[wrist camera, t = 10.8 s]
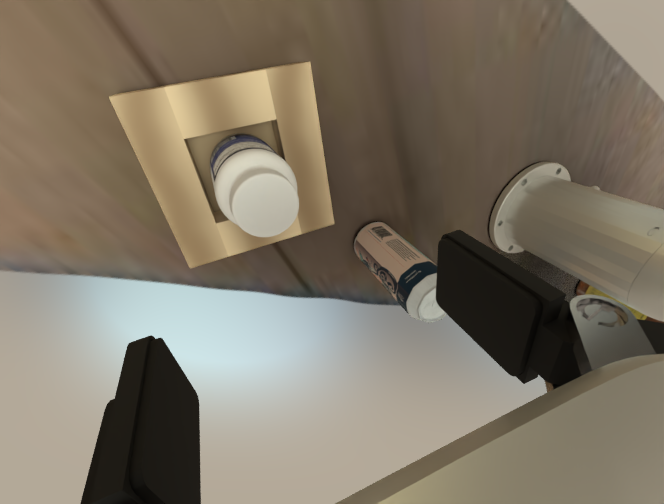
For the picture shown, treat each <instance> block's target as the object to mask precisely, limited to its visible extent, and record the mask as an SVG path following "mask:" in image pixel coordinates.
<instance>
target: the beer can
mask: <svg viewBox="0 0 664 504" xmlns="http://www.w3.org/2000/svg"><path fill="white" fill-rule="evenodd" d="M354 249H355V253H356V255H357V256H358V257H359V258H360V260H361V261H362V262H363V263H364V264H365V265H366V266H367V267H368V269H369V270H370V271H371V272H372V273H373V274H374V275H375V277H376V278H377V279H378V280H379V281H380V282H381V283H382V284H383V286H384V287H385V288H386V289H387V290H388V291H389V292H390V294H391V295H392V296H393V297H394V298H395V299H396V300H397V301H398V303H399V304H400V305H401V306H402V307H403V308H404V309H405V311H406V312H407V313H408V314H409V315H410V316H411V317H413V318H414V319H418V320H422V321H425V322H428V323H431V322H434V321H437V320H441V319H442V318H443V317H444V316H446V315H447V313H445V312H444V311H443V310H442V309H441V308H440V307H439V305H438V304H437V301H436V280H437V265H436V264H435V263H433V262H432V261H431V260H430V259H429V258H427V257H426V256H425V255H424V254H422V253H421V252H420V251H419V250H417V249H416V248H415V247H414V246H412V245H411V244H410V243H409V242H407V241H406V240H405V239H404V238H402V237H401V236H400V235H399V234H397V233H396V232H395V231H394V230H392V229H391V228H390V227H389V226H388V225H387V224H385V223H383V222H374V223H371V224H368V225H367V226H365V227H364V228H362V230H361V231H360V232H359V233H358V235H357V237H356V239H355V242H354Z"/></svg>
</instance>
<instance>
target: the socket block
mask: <svg viewBox="0 0 664 504" xmlns="http://www.w3.org/2000/svg"><path fill="white" fill-rule="evenodd" d="M109 99H110V101H111V103H112V105H113V107H114V109H115V111H116V114H117V116H118V118H119V120H120V122H121V124H122V126H123V128H124V130H125V132H126V135H127V137H128V139H129V141H130V143H131V145H132V147H133V149H134V151H135V154H136V156H137V158H138V160H139V162H140V164H141V166H142V168H143V170H144V173H145V175H146V177H147V179H148V181H149V183H150V185H151V187H152V189H153V192H154V194H155V196H156V198H157V200H158V202H159V204H160V206H161V208H162V210H163V213H164V215H165V217H166V219H167V221H168V223H169V225H170V227H171V229H172V232H173V234H174V236H175V238H176V240H177V242H178V244H179V246H180V248H181V251H182V253H183V255H184V257H185V259H186V261H187V263H188V265H189V267H190V268H193V267H196V266H200V265H203V264H206V263H209V262H213V261H216V260H219V259H222V258H226V257H229V256H232V255H235V254H239V253H242V252H245V251H248V250H252V249H255V248H258V247H261V246H265V245H268V244H271V243H274V242H278V241H281V240H284V239H287V238H291V237H294V236H297V235H300V234H304V233H307V232H310V231H313V230H317V229H320V228H323V227H326V226H330V225H333V224H334V218H333V211H332V204H331V198H330V191H329V184H328V178H327V171H326V164H325V158H324V151H323V144H322V138H321V131H320V124H319V118H318V111H317V104H316V98H315V91H314V84H313V78H312V71H311V64H310V62H297V63H292V64H286V65H280V66H274V67H268V68H263V69H257V70H251V71H245V72H240V73H234V74H228V75H222V76H217V77H211V78H205V79H199V80H193V81H188V82H182V83H176V84H170V85H165V86H159V87H153V88H147V89H142V90H136V91H130V92H124V93H118V94H115V95H113V96H110V97H109ZM239 133H244V134H250V135H254V136H256V137H258V138H260V139H261V140H263V141H264V142H265V143H267V144H268V145H269V146H270V147H271V148H272V149H273V150H274V151H275V152H276V153H277V154H278V155H279V156H280V157H282V158H283V159H284V160H285V161H286V162H287V164H288V165H289V166H290V168H291V169H292V171H293V173H294V175H295V178H296V182H297V194H298V198H299V210H298V214H297V216H296V219H295V220H294V222H293V223H292V225H291V226H290V227H289V228H288V229H286V230H285V231H284V232H282V233H280V234H278V235H275V236H272V237H257V236H253V235H250V234H248V233H247V232H245V231H244V230H242V229H241V228H240V227H239V226H238V225H236V224H235V223H233V222H232V221H230V220H229V219H228V218H227V217H226V216H225V215H224V214H223V212H222V211H221V209H220V207H219V205H218V203H217V200H216V196H215V191H214V186H213V182H212V177H211V172H210V158H211V154H212V152H213V150H214V148H215V146H216V145H217V144H218V143H219V142H220V141H221V140H222V139H224V138H225V137H227V136H230V135H233V134H239Z"/></svg>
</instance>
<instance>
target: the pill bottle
mask: <svg viewBox="0 0 664 504" xmlns="http://www.w3.org/2000/svg"><path fill="white" fill-rule="evenodd" d="M210 172H211V177H212V182H213V186H214V191H215V196H216V200H217V203H218V205H219V207H220V209H221V211H222V212H223V214H224V215H225V216H226V217H227V218H228V219H229V220H230V221H232V222H233V223H235V224H236V225H238V226H239V227H240V228H241V229H242V230H244V231H245V232H247V233H248V234H250V235H253V236H257V237H272V236H275V235H278V234H280V233H282V232H284V231H285V230H286V229H288V228H289V227H290V226H291V225H292V223H293V222H294V220H295V219H296V216H297V214H298V210H299V198H298V194H297V182H296V178H295V175H294V173H293V171H292V169H291V168H290V166H289V165H288V164H287V162H286V161H285V160H284V159H283V158H282V157H280V156H279V155H278V154H277V153H276V152H275V151H274V150H273V149H272V148H271V147H270V146H269V145H268V144H267V143H265V142H264V141H263V140H261V139H260V138H258V137H256V136H254V135H250V134H244V133H239V134H233V135H230V136H227V137H225V138H224V139H222V140H221V141H220V142H219V143H218V144H217V145H216V146H215V148H214V150H213V152H212V154H211V158H210Z"/></svg>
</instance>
